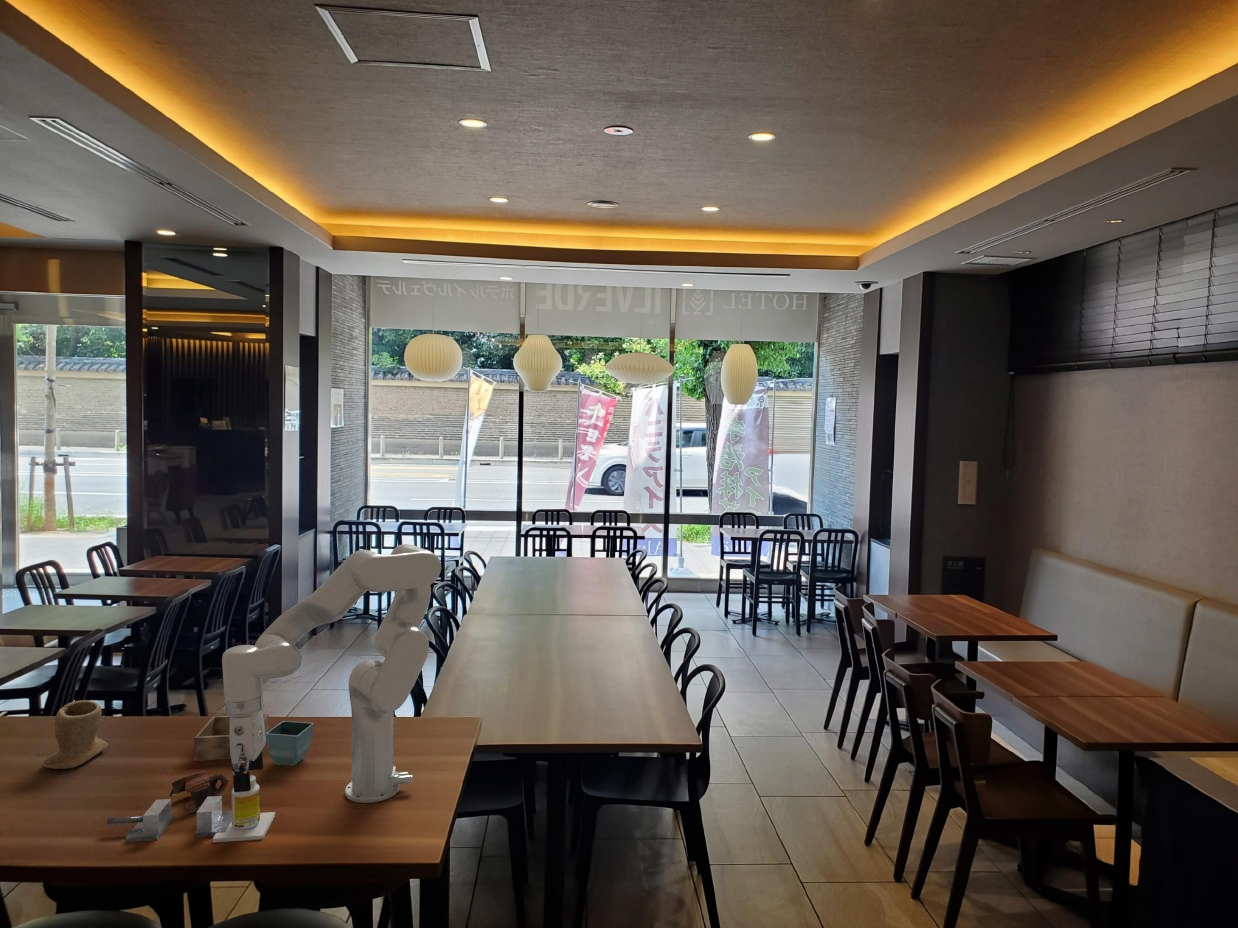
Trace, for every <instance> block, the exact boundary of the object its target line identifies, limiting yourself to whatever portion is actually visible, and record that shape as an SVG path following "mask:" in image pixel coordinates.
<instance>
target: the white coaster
mask: <svg viewBox="0 0 1238 928" xmlns="http://www.w3.org/2000/svg"><path fill="white" fill-rule="evenodd" d="M275 816H276V811H272V812H270V811H269V812H260V821H259V823H258V824H257V825H256V826H254V827H252V828H249V829H245V830H238V829H235V828H234V827H233V826H232V822H231V823H230V825H229V827H228V828H227V830H226V832H218V833H216V834H215V836H213V837H212V843H224V842H238V841H239V842H240V841H254V840H264V839H265V836H266V834H267V833H268V830H269V829H270V827H271V825H272V823H273V820H274V819H275Z"/></svg>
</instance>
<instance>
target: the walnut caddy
mask: <svg viewBox="0 0 1238 928" xmlns="http://www.w3.org/2000/svg"><path fill="white" fill-rule="evenodd" d="M263 717H264V725H265V735H266V733H267V732H268V731H270V714H269V713H263ZM229 726H230V717H229V716H227V715H215V716H211V718H210V719H209V720H208V721H207V722H206V724H204V725H203V726H202V728H201V729H200V731H198V732H197V734H196V735H195V736H194V737H193V749H194V750H193V753H194V756H193V760H194V761H195V762H196V761H210V760H211V761H213V760H215V761H216V760H231V755H230V727H229ZM241 758H246V756H245V757H241Z"/></svg>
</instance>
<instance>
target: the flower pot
mask: <svg viewBox="0 0 1238 928" xmlns="http://www.w3.org/2000/svg"><path fill="white" fill-rule="evenodd" d="M314 725H315V724H314V723H313V722H304V721H289V720H283V721H280V722H279V723H278V724H276V725H275V726H274V727H272V728H270V729H269V731H268V732H267V733H266V746H267V751H268V754H269V757H270V759H271V760H272V761H273V763H274V764H275V765H278V766H290V767H295V766H296V765H297V764H299V762H301V761H302V760H303V759H304V758H305V756H306V754H307V753H308V751H309V749H310V747H311V744H312V737H313V731H314Z"/></svg>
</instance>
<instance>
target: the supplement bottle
mask: <svg viewBox="0 0 1238 928" xmlns="http://www.w3.org/2000/svg"><path fill="white" fill-rule="evenodd" d="M250 783H251V789H250V791H245V792H234V787H233V788H232V790H231V811H232V826H233V827H234V828H235V829H238V830H245V829H249V828H252V827H254V826H256V825H257V824H258V823H259V821H260V813H261V804H260V803H261V801H260V800H261V798H260V797H261V796H260V794H261V793H260V792H261V791H260V785H259V783H257V780H256V776H255V775H254V774H250Z"/></svg>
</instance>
